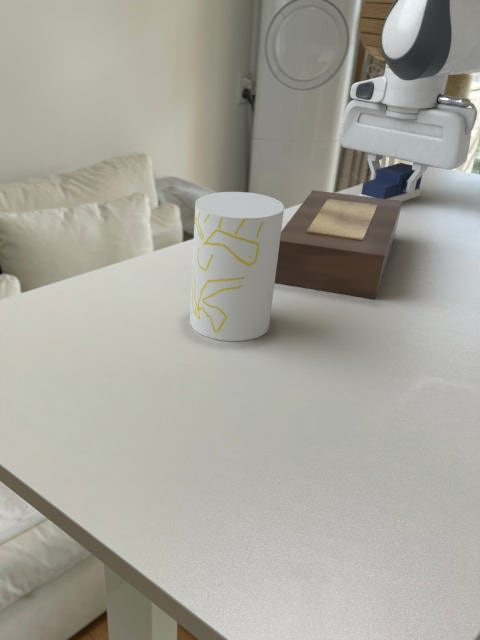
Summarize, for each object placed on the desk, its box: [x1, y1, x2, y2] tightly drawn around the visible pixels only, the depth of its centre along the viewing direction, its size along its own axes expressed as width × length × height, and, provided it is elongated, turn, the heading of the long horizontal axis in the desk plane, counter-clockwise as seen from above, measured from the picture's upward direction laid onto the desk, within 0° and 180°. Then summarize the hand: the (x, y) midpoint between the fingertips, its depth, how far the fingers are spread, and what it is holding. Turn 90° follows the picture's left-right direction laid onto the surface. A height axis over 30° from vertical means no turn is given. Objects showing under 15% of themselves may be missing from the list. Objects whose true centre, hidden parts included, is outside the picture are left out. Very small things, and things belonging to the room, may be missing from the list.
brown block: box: [274, 189, 403, 300], centre depth 81 cm, size 22×12×5 cm, turn 158°
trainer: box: [358, 162, 423, 203], centre depth 103 cm, size 11×5×4 cm, turn 132°
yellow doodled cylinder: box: [189, 191, 285, 342], centre depth 63 cm, size 8×8×12 cm
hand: (391, 187), depth 103 cm, fingers closed on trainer, 4 cm apart
